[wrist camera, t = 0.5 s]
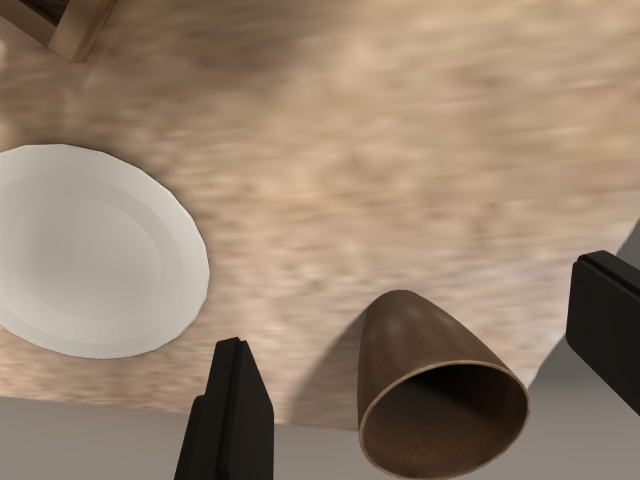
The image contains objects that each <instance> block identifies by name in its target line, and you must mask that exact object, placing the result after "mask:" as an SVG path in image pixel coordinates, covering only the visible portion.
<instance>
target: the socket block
mask: <svg viewBox="0 0 640 480" xmlns="http://www.w3.org/2000/svg"><path fill="white" fill-rule="evenodd" d="M116 1H117V0H70V1H69V3H68V5H67V7H66V10H65V12H64V14H63V16H62V18H61V20H59V19H57V18H56V17H55V16H53V15H52V14H50V13H49V12H48V11H46V10H45V9H44V8H42V7H41V6H39V5H38V4H37V3H35V2H34V1H33V0H0V15H1V16H3V17H4V18H6V19H7V20H9V21H10V22H11V23H13V24H14V25H16V26H17V27H19V28H20V29H22V30H23V31H24V32H26V33H27V34H29V35H30V36H32V37H33V38H34V39H36V40H37V41H39V42H40V43H42V44H43V45H45V46H46V47H47V48H49V49H50V50H52V51H53V52H55V53H56V54H57V55H59V56H60V57H62V58H63V59H65V60H66V61H68V62H69V63H79V62H85V60H86V58H87V56H88V54H89V52H90V50H91V48H92V47H93V45H94V43H95V41H96V39H97V37H98V35H99V33H100V31H101V29H102V27H103V25H104V24H105V22H106V20H107V18H108V16H109V14H110V12H111V10H112V8H113V6H114V4H115V2H116Z"/></svg>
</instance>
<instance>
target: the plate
mask: <svg viewBox="0 0 640 480" xmlns="http://www.w3.org/2000/svg"><path fill="white" fill-rule="evenodd" d="M209 276H210V268H209V262H208V256H207V250H206V244H205V242H204V240H203V238H202V236H201V234H200V232H199V230H198V228H197V226H196V224H195V222H194V219H193V217H192V216H191V215H190V214H189V212H188V211H187V210H186V209H185V208H184V207H183V205H182V204H181V203H180V202H179V201H178V199H177V198H176V197H175V196H174V195H173V194H172V192H171V191H170V190H168V189H167V188H166V187H164V186H163V185H162V184H160V183H159V182H158V181H156V180H155V179H154V178H152V177H151V176H150V175H148V174H147V173H146V172H144V171H143V170H142V169H140V168H138V167H136V166H134V165H132V164H130V163H127V162H125V161H123V160H121V159H118V158H116V157H114V156H112V155H110V154H107V153H105V152H102V151H97V150H92V149H88V148H83V147H78V146H73V145H68V144H42V145H24V146H21V147H18V148H15V149H11V150H8V151H5V152H2V153H0V325H1V326H3V327H4V328H5V329H7V330H8V331H9V332H11V333H13V334H15V335H17V336H19V337H21V338H23V339H25V340H27V341H29V342H31V343H33V344H35V345H37V346H39V347H42V348H45V349H48V350H52V351H55V352H59V353H62V354H65V355H69V356H75V357H84V358H94V359H111V358H124V357H132V356H135V355H139V354H142V353H145V352H149V351H152V350H156V349H158V348H159V347H161V346H163V345H164V344H166V343H168V342H170V341H171V340H173V339H175V338H177V337H178V336H179V335H180V334H181V333H182V332H183V331H184V330H185V329H186V328H187V327H188V326H189V325H190V324H191V323H192V322H193V321H194V320H195V319H196V317H197V315H198V313H199V311H200V309H201V307H202V305H203V303H204V301H205V299H206V296H207V289H208V283H209Z"/></svg>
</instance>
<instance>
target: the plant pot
mask: <svg viewBox="0 0 640 480" xmlns="http://www.w3.org/2000/svg"><path fill="white" fill-rule="evenodd" d="M357 401H358V427H359V439H360V446H361V449H362V452H363V453H364V455H365V457H366V458H367V460H368V461H369V462H370V463H371V464H372V465H373V466H374V467H375V468H376V469H378V470H379V471H381V472H383V473H385V474H387V475H389V476H391V477H395V478H398V479H403V480H446V479H451V478H455V477H459V476H462V475H465V474H468V473H471V472H473V471H476V470H478V469H480V468H482V467H484V466H485V465H487V464H489V463H491V462H492V461H494V460H495V459H497V458H498V457H499V456H501V455H502V454H503V453H505V452H506V451H507V450H508V449H509V448H510V447H511V446H512V445H513V444H514V443H515V442H516V440H517V439H518V438H519V436H520V435H521V434H522V432H523V430H524V428H525V426H526V424H527V421H528V418H529V414H530V399H529V395H528V392H527V390H526V388H525V386H524V384H523V383H522V382H521V381H520V379H519V378H518V377H517V376H516V375H515V374H514V373H513V372H512V371H511V370H510V369H509V368H508V367H507V366H506V365H505V364H504V363H503V362H502V361H501V360H500V359H499V358H498V357H497V356H496V355H495V354H494V353H493V352H492V351H491V350H490V349H489V348H488V347H487V346H486V345H485V344H484V343H483V342H482V341H481V340H479V339H478V338H477V337H476V336H475V335H474V334H473V333H471V332H470V331H469V330H468V329H467V328H466V327H464V326H463V325H462V324H461V323H460V322H458V321H457V320H456V319H454V318H453V317H452V316H451V315H449V314H448V313H446V312H445V311H444V310H442V309H441V308H439V307H438V306H436V305H435V304H433V303H432V302H430V301H428V300H427V299H425V298H423V297H421V296H419V295H418V294H416V293H414V292H411V291H408V290H395V291H390V292H388V293H385V294H383V295H381V296H380V297H379V298H377V299H376V300H375V301H374V302H373V303H372V305H371V306H370V308H369V310H368V313H367V317H366V321H365V325H364V329H363V334H362V340H361V347H360V355H359V366H358V390H357Z"/></svg>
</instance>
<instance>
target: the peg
mask: <svg viewBox="0 0 640 480" xmlns="http://www.w3.org/2000/svg"><path fill="white" fill-rule="evenodd" d="M40 1H45V2H49V3H53V4H58V5H65V4H68V3H69V1H70V0H40Z"/></svg>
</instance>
